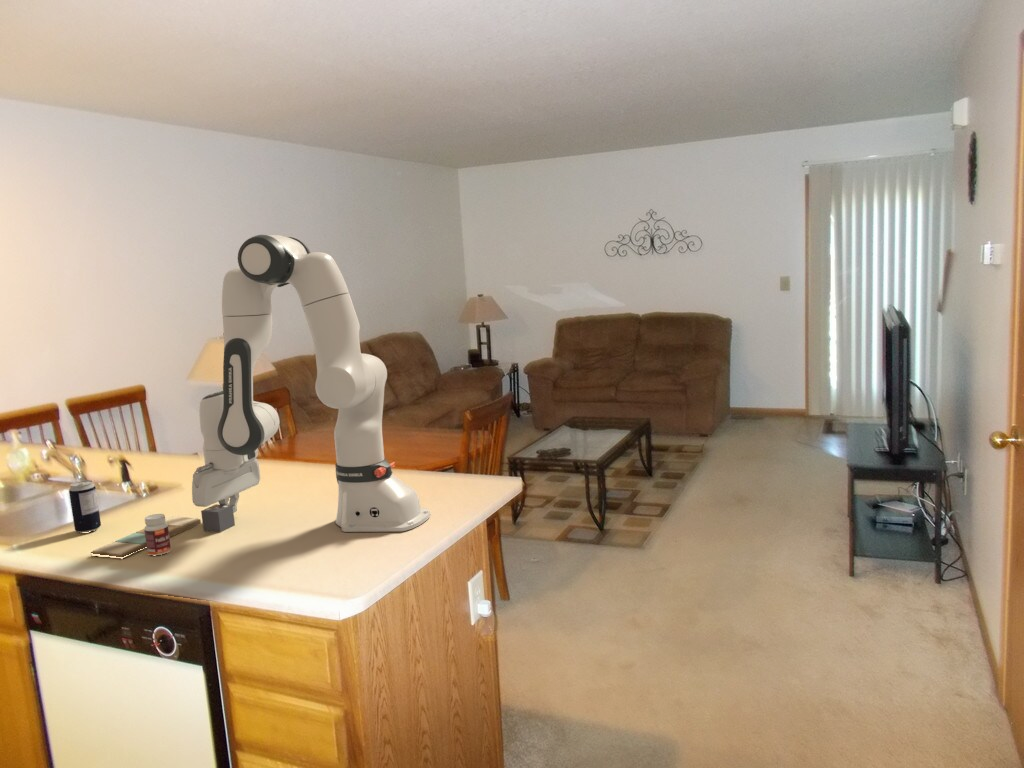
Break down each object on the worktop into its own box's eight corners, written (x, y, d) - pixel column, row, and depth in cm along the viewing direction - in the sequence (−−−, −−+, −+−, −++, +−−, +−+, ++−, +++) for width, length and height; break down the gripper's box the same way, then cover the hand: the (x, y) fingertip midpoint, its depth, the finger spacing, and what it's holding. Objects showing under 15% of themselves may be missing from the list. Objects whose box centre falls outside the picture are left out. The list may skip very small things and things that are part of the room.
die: (234, 525, 190) (232, 505, 190) (220, 532, 186) (218, 511, 185) (218, 524, 192) (215, 503, 191) (203, 531, 188) (201, 510, 187)
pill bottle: (159, 557, 171) (154, 520, 170) (142, 556, 173) (137, 519, 172) (176, 549, 175) (171, 513, 174) (159, 548, 177) (154, 512, 176)
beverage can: (102, 525, 197) (95, 478, 195) (100, 532, 192) (93, 484, 190) (77, 529, 195) (70, 482, 193) (73, 536, 190) (66, 487, 188)
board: (200, 523, 194) (200, 518, 193) (122, 559, 171) (121, 553, 171) (172, 521, 197) (171, 516, 197) (91, 556, 175) (90, 550, 174)
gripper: (203, 470, 180) (210, 528, 182) (261, 448, 199) (267, 501, 201) (181, 468, 182) (189, 526, 184) (241, 447, 201) (247, 500, 203)
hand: (230, 513), depth 193 cm, fingers closed
